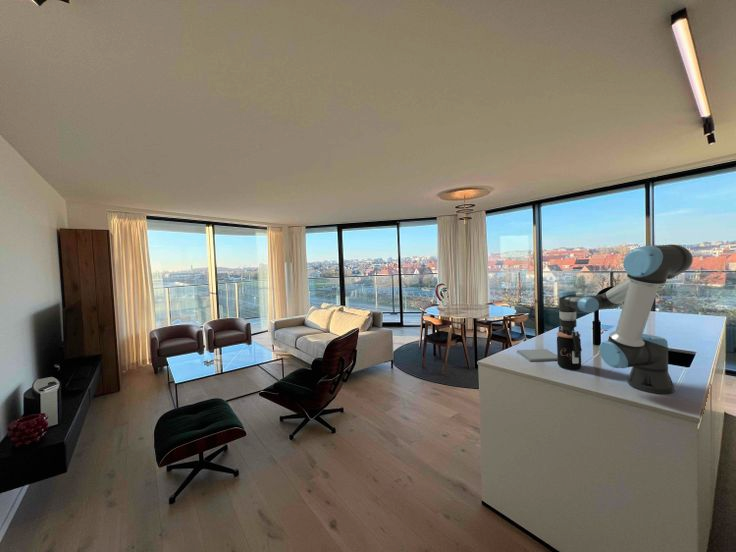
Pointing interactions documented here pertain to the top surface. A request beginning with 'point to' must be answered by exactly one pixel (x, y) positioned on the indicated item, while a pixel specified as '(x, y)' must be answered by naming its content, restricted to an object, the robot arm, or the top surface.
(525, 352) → the plate
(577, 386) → the top surface
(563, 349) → the coffee jar
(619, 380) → the top surface
